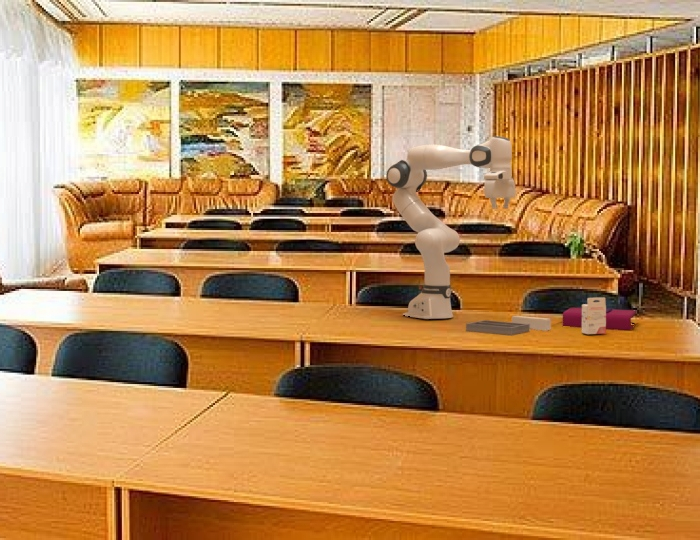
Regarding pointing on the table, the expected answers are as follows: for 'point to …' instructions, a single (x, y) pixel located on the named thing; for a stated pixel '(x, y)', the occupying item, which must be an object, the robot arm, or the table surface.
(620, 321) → the book
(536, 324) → the clay strip
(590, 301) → the ink cartridge box
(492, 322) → the divided tray
